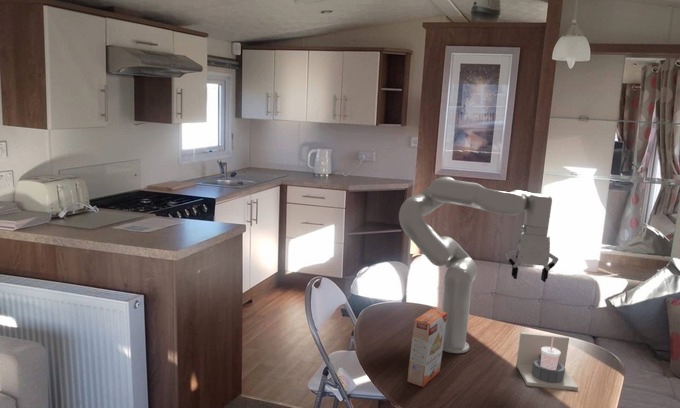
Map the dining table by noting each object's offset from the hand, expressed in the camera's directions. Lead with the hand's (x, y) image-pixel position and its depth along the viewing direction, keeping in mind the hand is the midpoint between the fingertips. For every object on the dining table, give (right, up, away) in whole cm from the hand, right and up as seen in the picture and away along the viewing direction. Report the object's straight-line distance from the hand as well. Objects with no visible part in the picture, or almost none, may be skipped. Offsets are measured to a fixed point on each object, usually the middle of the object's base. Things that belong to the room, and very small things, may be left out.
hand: (528, 279), depth 197 cm
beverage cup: (+4, -31, -7) cm, 32 cm away
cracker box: (-37, -30, -12) cm, 49 cm away
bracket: (+4, -32, -5) cm, 33 cm away
